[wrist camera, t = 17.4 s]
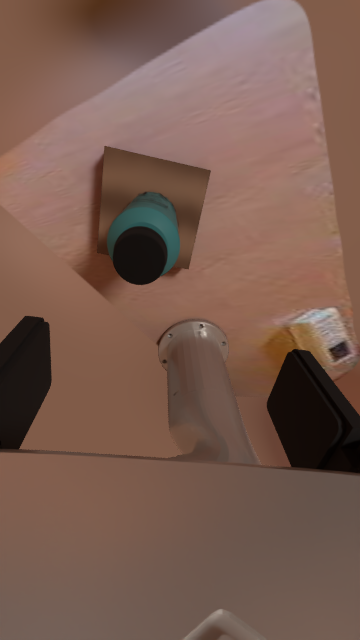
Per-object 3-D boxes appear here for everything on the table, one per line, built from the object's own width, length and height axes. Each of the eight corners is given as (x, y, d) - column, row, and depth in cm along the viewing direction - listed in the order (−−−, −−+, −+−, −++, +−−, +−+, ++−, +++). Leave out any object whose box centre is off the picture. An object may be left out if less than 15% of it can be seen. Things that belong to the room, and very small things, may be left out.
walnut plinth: (186, 262, 45) (188, 269, 42) (101, 247, 43) (97, 252, 40) (207, 169, 39) (210, 170, 36) (108, 146, 37) (104, 145, 34)
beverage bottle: (180, 236, 40) (192, 295, 22) (132, 244, 40) (107, 309, 22) (172, 184, 37) (179, 205, 19) (120, 193, 37) (80, 222, 19)
